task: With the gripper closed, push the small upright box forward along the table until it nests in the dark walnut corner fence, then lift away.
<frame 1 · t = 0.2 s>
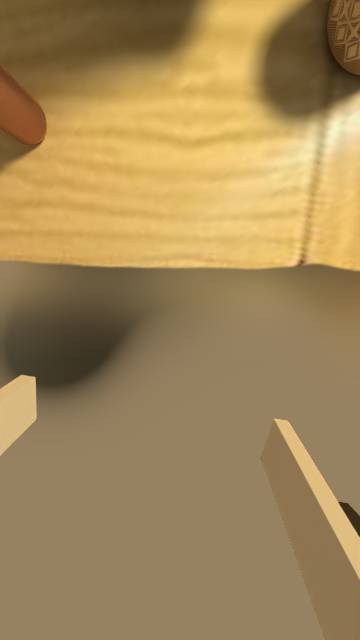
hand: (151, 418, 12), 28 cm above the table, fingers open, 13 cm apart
beverage can: (31, 125, 32), on the table
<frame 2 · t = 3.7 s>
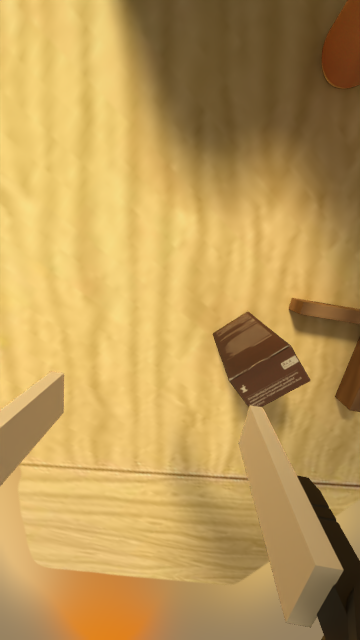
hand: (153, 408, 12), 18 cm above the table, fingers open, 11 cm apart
box: (238, 333, 30), on the table
beverage can: (346, 58, 21), on the table
corner fence: (336, 351, 29), on the table
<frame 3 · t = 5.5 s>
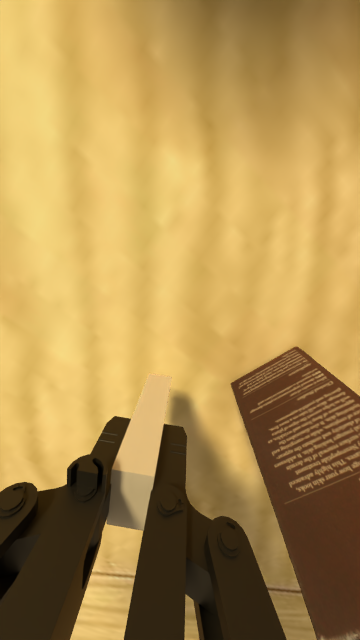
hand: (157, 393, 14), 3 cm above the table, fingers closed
box: (275, 382, 17), on the table
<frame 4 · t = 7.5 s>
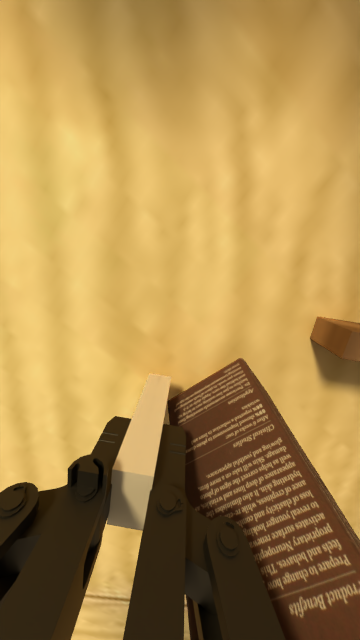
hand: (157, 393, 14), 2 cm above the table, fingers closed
box: (218, 392, 15), on the table, touching gripper, hand
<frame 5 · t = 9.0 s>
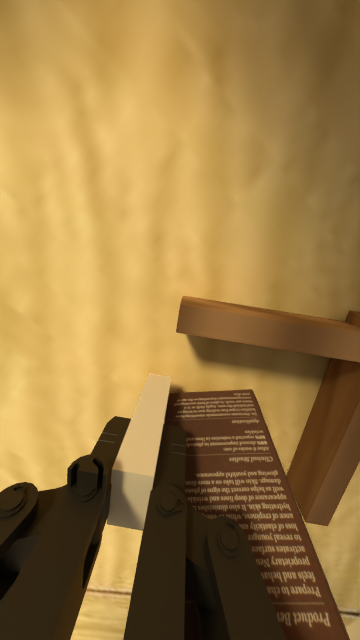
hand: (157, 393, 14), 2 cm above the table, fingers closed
box: (210, 409, 15), on the table, touching gripper, hand
corner fence: (282, 399, 15), on the table
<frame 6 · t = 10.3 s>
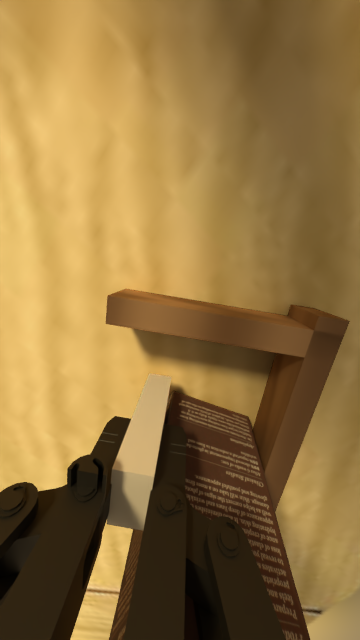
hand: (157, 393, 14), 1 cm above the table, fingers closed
box: (200, 421, 16), on the table, touching gripper
corner fence: (230, 394, 15), on the table
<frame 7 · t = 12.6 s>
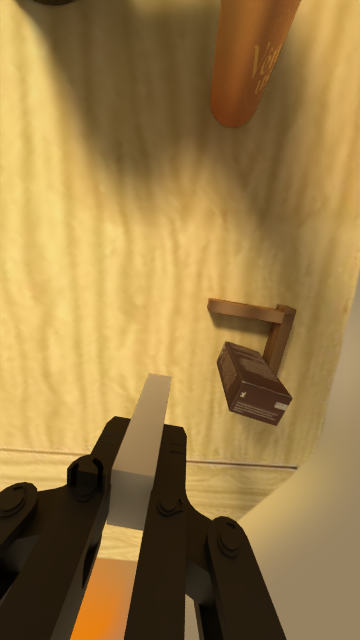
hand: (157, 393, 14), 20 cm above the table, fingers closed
box: (236, 357, 35), on the table
beverage can: (233, 103, 27), on the table
corner fence: (251, 344, 34), on the table
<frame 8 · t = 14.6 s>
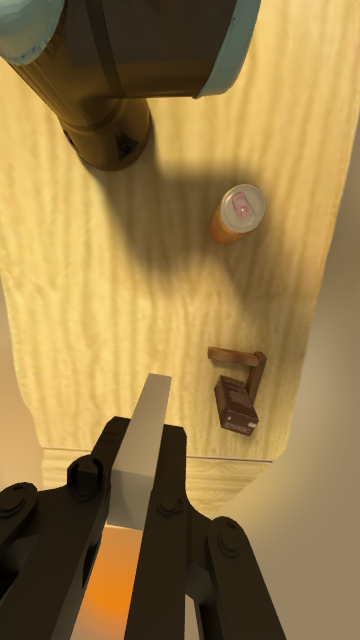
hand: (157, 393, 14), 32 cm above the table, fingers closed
box: (228, 385, 50), on the table
beverage can: (224, 228, 41), on the table
corner fence: (238, 377, 49), on the table
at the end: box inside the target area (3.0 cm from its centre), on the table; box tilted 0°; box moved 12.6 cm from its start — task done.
